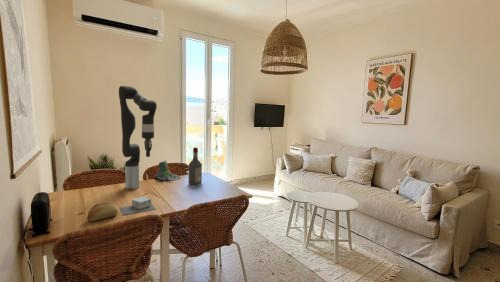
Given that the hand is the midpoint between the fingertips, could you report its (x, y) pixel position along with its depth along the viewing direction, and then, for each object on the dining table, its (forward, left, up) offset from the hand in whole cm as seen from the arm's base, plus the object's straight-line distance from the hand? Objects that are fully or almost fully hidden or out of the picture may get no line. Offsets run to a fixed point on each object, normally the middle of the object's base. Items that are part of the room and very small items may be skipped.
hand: (147, 156), depth 166 cm
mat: (+16, -10, -28) cm, 34 cm away
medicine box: (+10, -9, -26) cm, 29 cm away
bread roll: (+20, -28, -29) cm, 45 cm away
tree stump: (-40, +25, -29) cm, 55 cm away
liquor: (-14, +39, -29) cm, 51 cm away
